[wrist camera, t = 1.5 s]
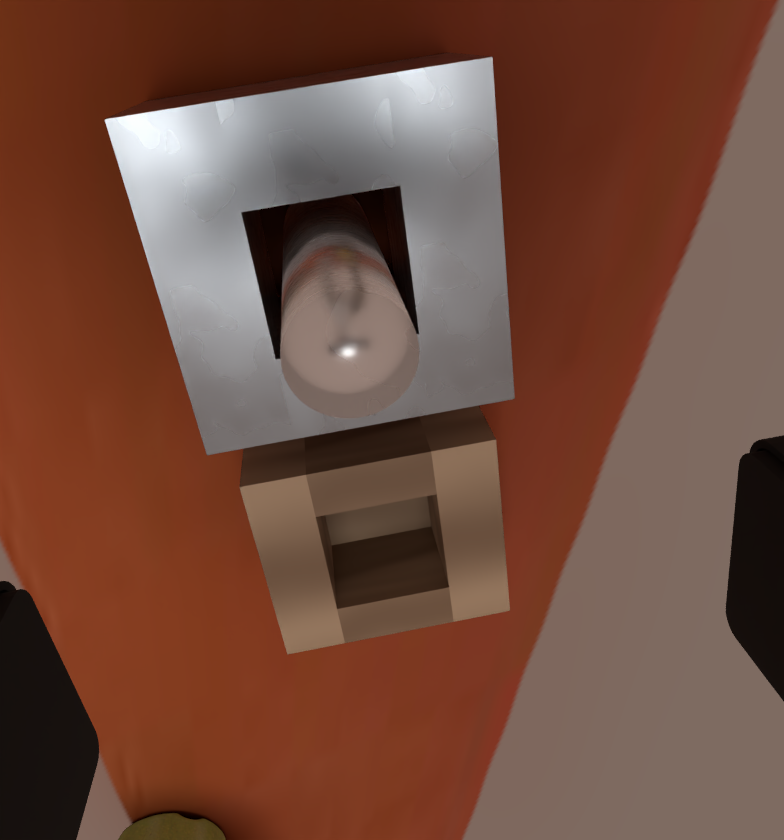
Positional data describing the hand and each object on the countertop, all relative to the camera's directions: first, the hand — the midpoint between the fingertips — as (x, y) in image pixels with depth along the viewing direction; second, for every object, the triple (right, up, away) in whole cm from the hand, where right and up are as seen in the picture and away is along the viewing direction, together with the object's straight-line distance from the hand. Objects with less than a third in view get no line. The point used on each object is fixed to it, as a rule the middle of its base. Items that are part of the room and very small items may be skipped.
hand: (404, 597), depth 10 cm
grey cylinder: (-3, +9, +17) cm, 19 cm away
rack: (-1, 0, +22) cm, 22 cm away
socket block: (-3, +9, +17) cm, 19 cm away
